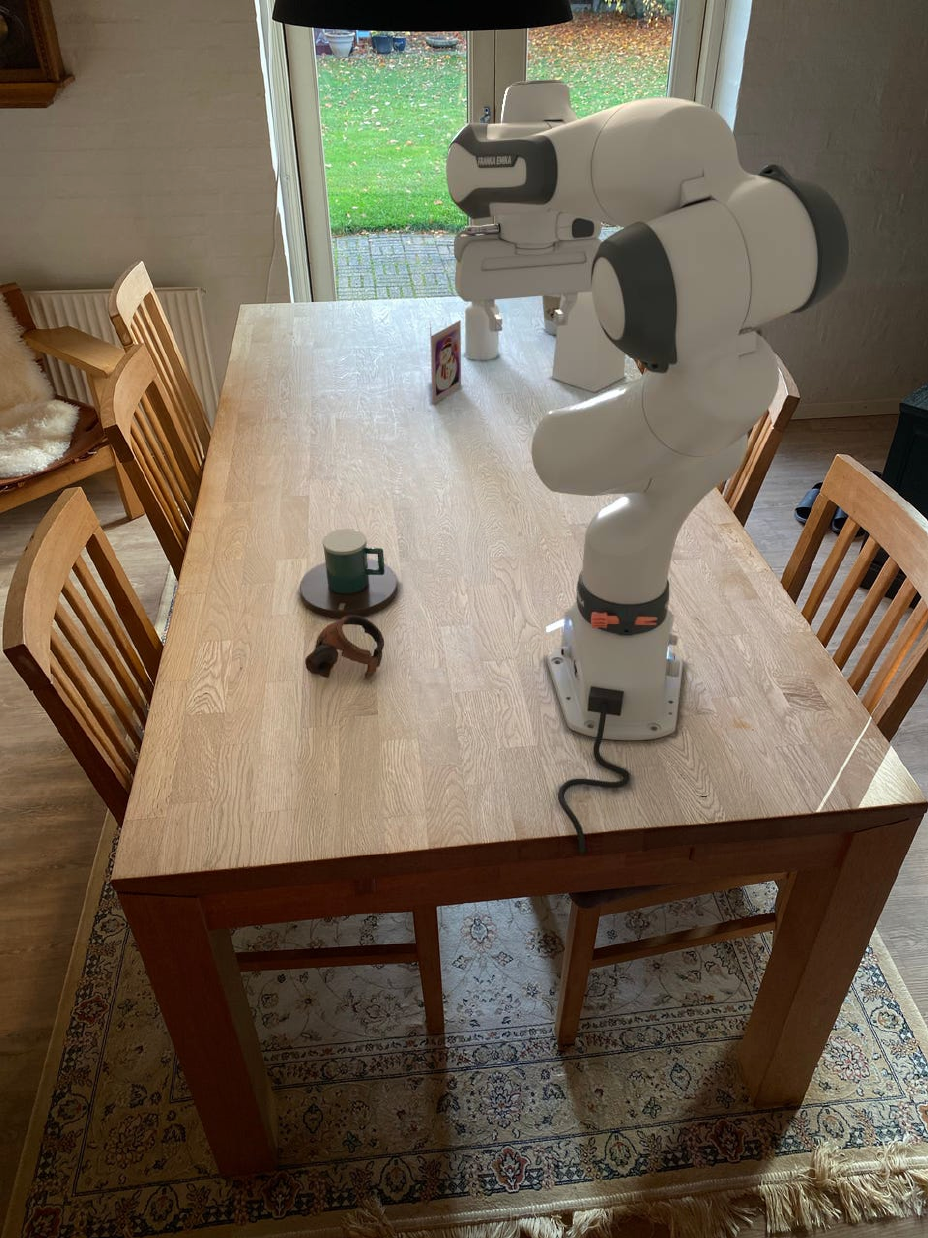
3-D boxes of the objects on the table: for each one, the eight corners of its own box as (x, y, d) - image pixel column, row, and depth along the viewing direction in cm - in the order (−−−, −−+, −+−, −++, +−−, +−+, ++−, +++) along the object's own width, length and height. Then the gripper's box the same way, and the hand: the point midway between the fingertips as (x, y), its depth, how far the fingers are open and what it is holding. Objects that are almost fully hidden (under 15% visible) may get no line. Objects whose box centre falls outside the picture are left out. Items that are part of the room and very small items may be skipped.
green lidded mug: (382, 595, 142) (379, 552, 137) (323, 593, 142) (318, 551, 138) (388, 571, 147) (385, 529, 143) (331, 569, 148) (326, 528, 143)
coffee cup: (533, 336, 236) (535, 275, 227) (540, 321, 245) (543, 262, 236) (578, 339, 234) (582, 278, 225) (583, 324, 243) (588, 265, 234)
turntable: (391, 621, 139) (390, 612, 139) (291, 617, 140) (290, 609, 139) (402, 565, 152) (402, 557, 151) (311, 563, 152) (310, 555, 151)
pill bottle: (461, 359, 224) (460, 296, 215) (470, 347, 230) (470, 285, 221) (493, 362, 222) (493, 299, 213) (501, 350, 228) (503, 288, 219)
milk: (551, 378, 214) (557, 261, 199) (581, 364, 221) (589, 249, 206) (594, 392, 208) (604, 272, 192) (624, 376, 214) (635, 259, 199)
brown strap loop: (333, 639, 137) (358, 601, 132) (376, 684, 135) (403, 647, 130) (277, 665, 127) (302, 625, 122) (324, 715, 125) (351, 676, 121)
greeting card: (436, 404, 203) (435, 336, 194) (408, 397, 206) (405, 330, 197) (464, 386, 210) (463, 320, 202) (436, 380, 214) (435, 314, 205)
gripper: (459, 233, 117) (460, 341, 125) (613, 222, 121) (604, 328, 129) (448, 220, 122) (450, 325, 130) (597, 210, 126) (589, 313, 134)
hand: (528, 327), depth 129 cm, fingers open, 8 cm apart
